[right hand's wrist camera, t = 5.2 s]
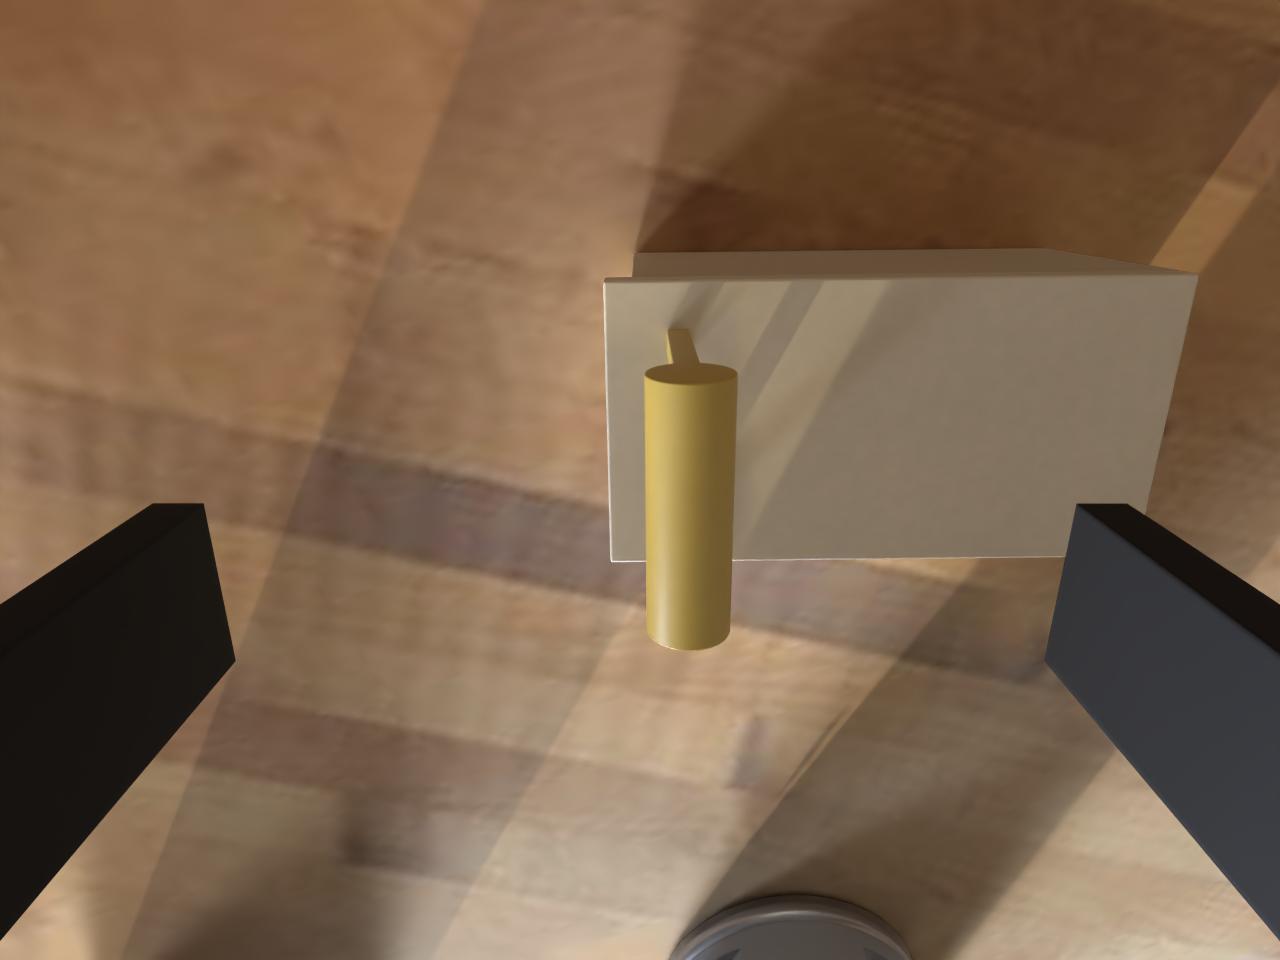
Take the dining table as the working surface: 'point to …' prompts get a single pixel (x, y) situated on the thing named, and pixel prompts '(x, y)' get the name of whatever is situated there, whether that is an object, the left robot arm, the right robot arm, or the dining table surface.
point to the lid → (874, 419)
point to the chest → (874, 262)
